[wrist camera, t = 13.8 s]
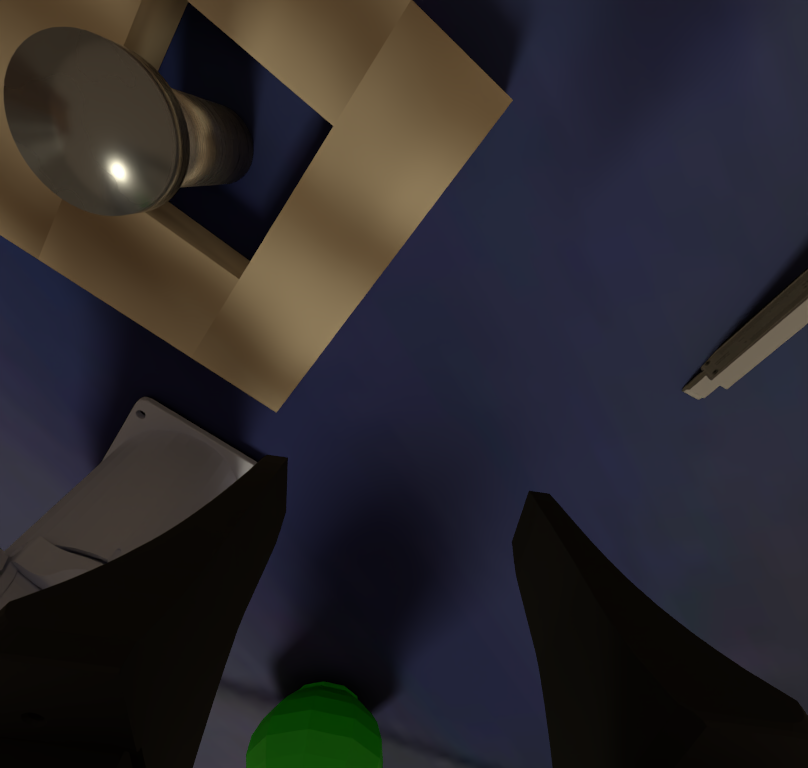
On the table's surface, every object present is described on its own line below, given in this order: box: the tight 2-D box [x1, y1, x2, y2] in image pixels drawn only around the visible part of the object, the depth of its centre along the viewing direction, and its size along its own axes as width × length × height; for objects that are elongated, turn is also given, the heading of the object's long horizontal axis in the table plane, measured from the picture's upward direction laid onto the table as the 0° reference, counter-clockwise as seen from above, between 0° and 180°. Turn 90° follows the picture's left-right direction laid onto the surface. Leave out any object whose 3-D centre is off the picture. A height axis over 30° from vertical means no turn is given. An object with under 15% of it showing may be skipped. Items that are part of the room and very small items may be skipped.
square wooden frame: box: [0, 0, 512, 412], centre depth 17 cm, size 16×16×2 cm
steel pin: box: [3, 27, 253, 216], centre depth 15 cm, size 4×4×8 cm
